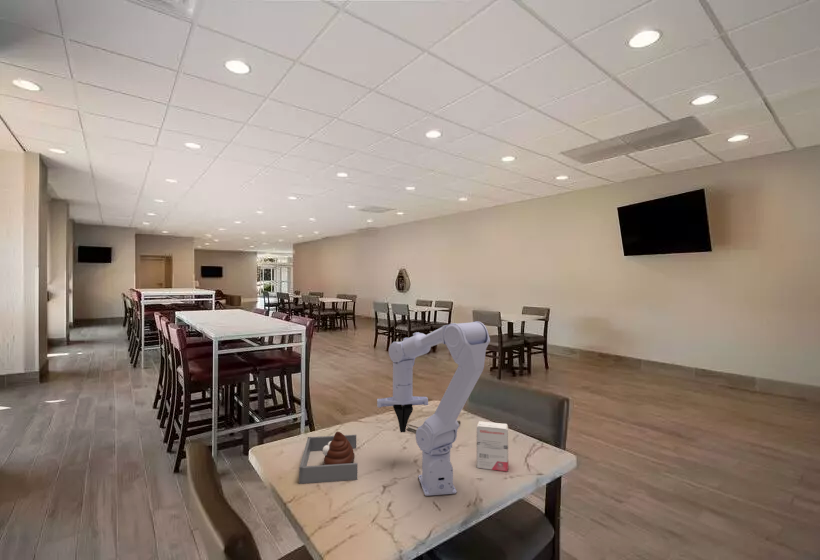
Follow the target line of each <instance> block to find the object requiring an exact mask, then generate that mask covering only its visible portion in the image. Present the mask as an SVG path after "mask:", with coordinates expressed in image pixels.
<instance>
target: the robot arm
mask: <svg viewBox="0 0 820 560" xmlns="http://www.w3.org/2000/svg"><path fill="white" fill-rule="evenodd" d="M490 343H491V338H490V335H489V331H488V328H487V327H486V325H485V324H484V323H483V322H481V321H479V320H478V321H477V320H476V321H472V322H470V321H469V322H459V323H456V322H453V323H452V322H451V323H449V324H445V325H442V326H440V327H439V328H437V329H435V330H433V331H431V332H430V333H427V334H425V333H423V332H419V331H418V332H417V331H416V332H414V333H412V336H410V337H404V338H402V341H393V342H391V344H389V347H388V356H389V358H390V360H391V362H392V396H389V397H383V398H376V399H377V400H376V406H377V408H384V407H392V408H393V411H394V412H395V415H396V417H397V421H398V422H397V423H398V424H399V431H400V433H406V431H407V430H406V429H407V424H408V423H409V419H410V417H411V415H412V413H413V410H414V407H413V406H423V405H424V406H429V398H428V397H427V396H418V395H417V396H416V395H413V392H414V391H413V390H414V389H413V387H414V385H413V380H414V378H413V377H414V376H413V375H414V374H413V373H414V369H413V367H414V366H415V360H416V358H418V357H421V356H423V355H426V354H428V353H429V352H430V351H431V349H432V347H434V346H438V345H441V344H443V345H446V348H447V349H448V351H449V354H450V355H451V358H452V359H453V361H454V363H455V364H456V365H457V368H456V370H455V372H454V374H453V376H452V378H451V380H450V382H449V384H448V386H447V388H446V390H445V391H444V394H443V396H442V397H441V400H440V402H439V404H438V405H437V408H436V409H435V412H434V413H433V414H431V415H432V416H431V415H429V416H430V417H429V418H428V419H426V420H425V421H424V423H423V425H422V426H420V427H418V429H417V430H416V434H415V441H416V444H417V446H418V448H419V449H420V451H421V452H422V453H421V454H422V455H421V456H422V457H421V462H422V463H421V464H422V465H421V466H422V467H421V471H422V472H421V474H419V475H418V476H417V477H418V479H419V480H418V481H419V483H420V486H421V488H422V492H423V494H424V496H441V495H442V496H443V495H452V494H455V495H456V494H457V489H456V487H455V485H454V468H453V467H454V466H453V465H452V462H451V449H452V448H453V444H454V443H455V441H456V440H457V436H458V435H457V434H458V430H459V428H460V426H459V424H458V422H457V420H458V418H459V416H460V414H461V412H462V410H463V408H464V406H465V405H466V403H467V401H468V399H469V397H470V396H471V393H472V392H473V390H474V388H475V386H476V384H477V382H478V381H479V379H480V377H481V375H482V373H483V371H484V368H485V362H486V353H487V352H486V351H487V348H488V346H489V344H490Z"/></svg>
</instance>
